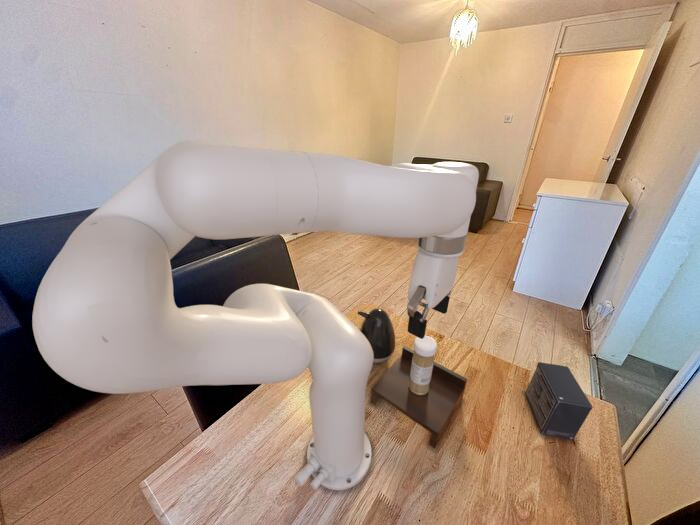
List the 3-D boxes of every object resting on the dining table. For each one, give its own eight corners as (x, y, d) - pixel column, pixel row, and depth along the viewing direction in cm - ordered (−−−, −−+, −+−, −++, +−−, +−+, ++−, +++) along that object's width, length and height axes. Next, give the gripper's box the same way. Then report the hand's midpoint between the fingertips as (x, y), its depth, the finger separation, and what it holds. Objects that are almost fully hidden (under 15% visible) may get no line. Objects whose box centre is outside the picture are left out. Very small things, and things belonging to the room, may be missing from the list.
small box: (576, 442, 58) (596, 408, 53) (541, 435, 59) (557, 402, 54) (553, 397, 67) (569, 365, 62) (523, 392, 68) (536, 360, 64)
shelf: (435, 449, 57) (440, 425, 53) (370, 402, 66) (371, 380, 63) (461, 401, 66) (467, 378, 63) (402, 367, 75) (404, 345, 72)
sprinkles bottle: (425, 379, 66) (433, 333, 60) (431, 396, 62) (440, 349, 56) (406, 379, 66) (412, 334, 60) (410, 396, 62) (417, 350, 56)
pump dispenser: (360, 339, 85) (361, 297, 78) (395, 344, 83) (399, 301, 76) (353, 365, 76) (354, 320, 69) (392, 371, 74) (397, 325, 67)
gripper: (441, 223, 56) (430, 296, 63) (394, 250, 44) (387, 336, 51) (481, 232, 51) (463, 309, 59) (440, 264, 40) (424, 356, 47)
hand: (427, 322), depth 55 cm, fingers open, 9 cm apart
